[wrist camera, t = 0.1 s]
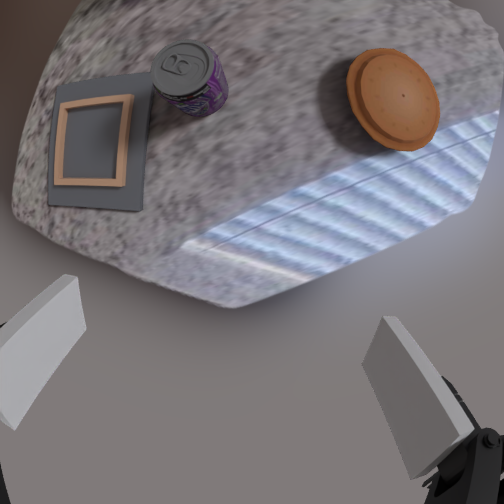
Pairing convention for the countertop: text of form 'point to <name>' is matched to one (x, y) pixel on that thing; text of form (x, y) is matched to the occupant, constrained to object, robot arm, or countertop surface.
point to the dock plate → (100, 142)
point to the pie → (393, 99)
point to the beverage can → (190, 77)
